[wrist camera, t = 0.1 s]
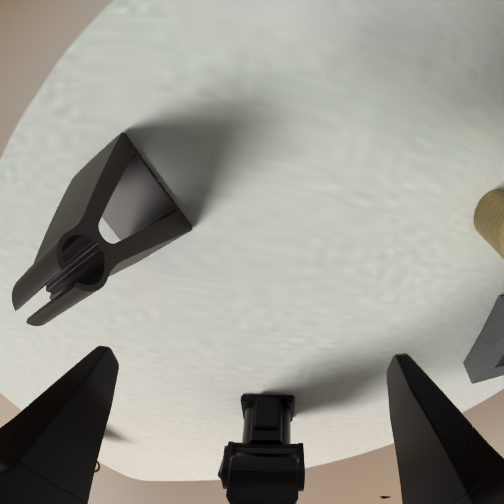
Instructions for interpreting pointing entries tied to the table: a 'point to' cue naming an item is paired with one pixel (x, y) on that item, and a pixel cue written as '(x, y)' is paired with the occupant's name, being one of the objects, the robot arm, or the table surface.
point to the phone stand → (87, 232)
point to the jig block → (488, 348)
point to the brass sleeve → (491, 220)
